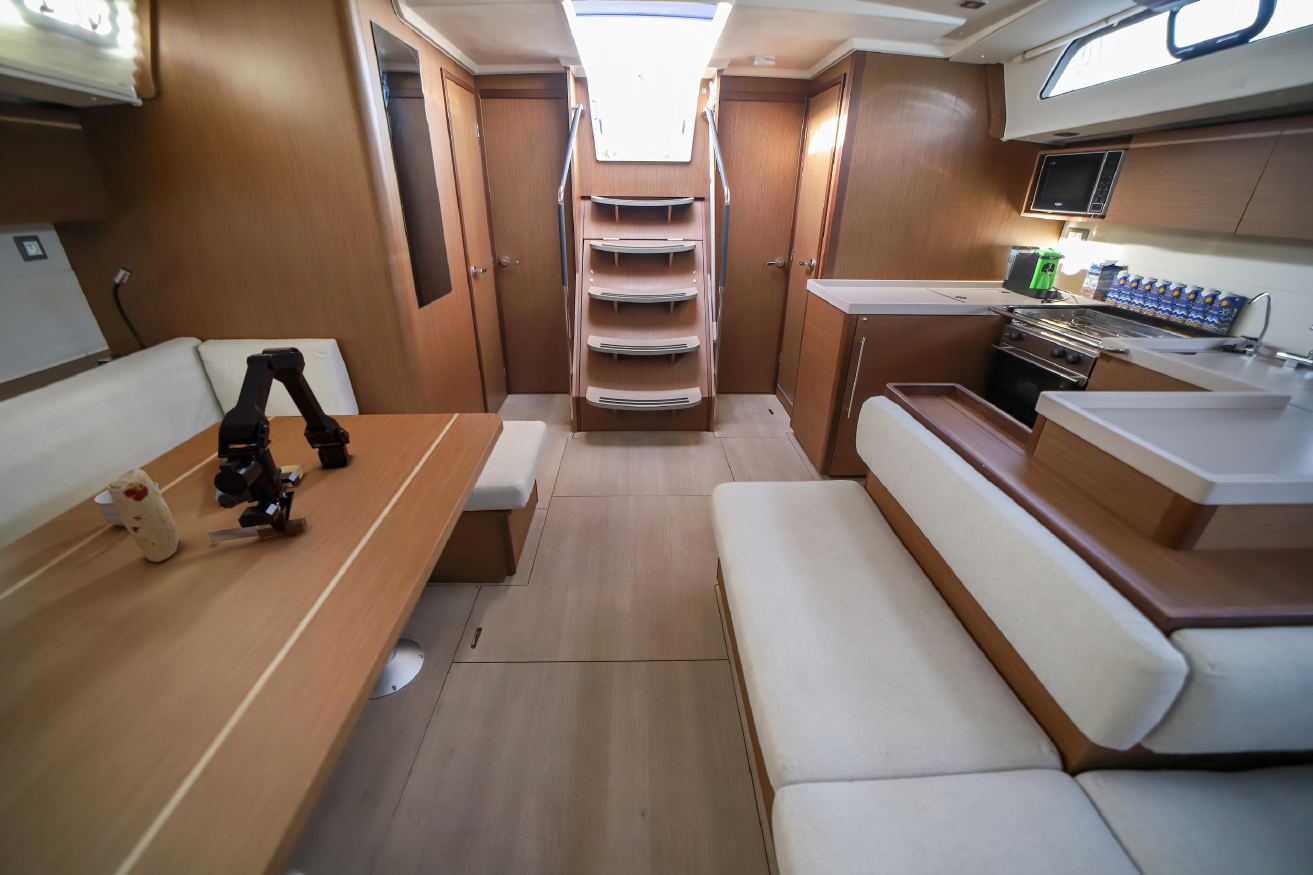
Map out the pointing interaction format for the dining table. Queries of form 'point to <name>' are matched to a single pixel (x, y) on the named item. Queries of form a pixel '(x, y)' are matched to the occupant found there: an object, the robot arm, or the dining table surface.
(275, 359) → the robot arm
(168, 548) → the food model
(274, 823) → the dining table surface
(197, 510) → the dining table surface
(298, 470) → the butter block
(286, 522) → the knife
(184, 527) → the dining table surface
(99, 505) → the teacup
